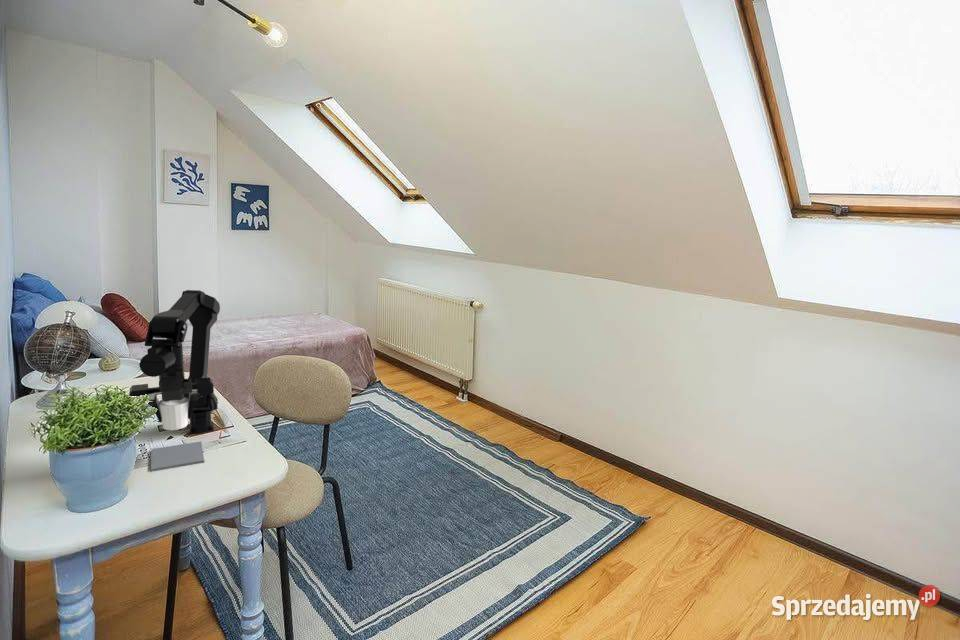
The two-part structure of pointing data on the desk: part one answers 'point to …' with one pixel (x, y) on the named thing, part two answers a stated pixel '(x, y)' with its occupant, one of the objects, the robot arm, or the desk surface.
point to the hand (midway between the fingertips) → (175, 420)
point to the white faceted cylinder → (174, 413)
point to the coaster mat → (176, 456)
